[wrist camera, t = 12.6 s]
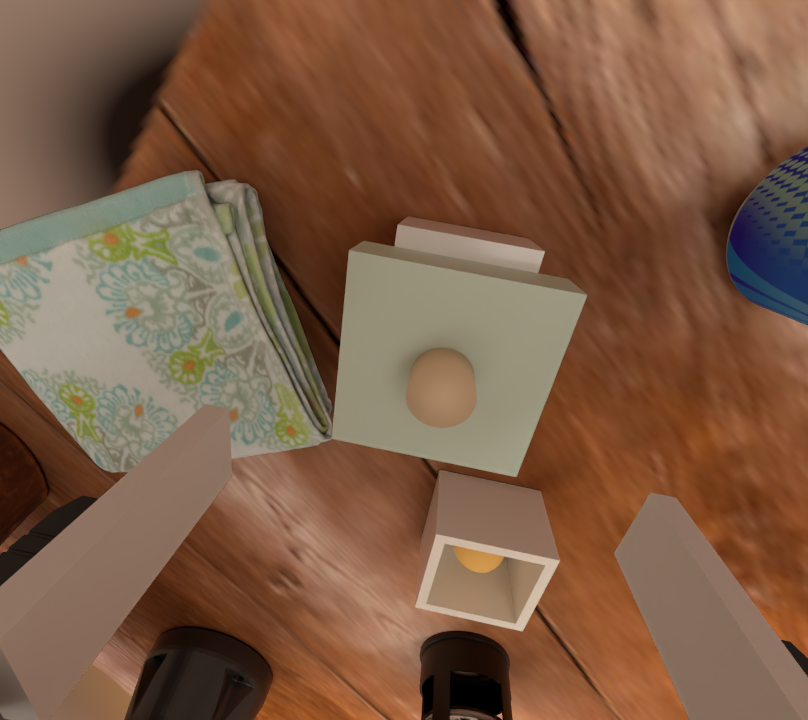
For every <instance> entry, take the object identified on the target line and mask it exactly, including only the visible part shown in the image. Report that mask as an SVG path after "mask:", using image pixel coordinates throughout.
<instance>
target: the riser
mask: <svg viewBox="0 0 808 720" xmlns="http://www.w3.org/2000/svg"><path fill="white" fill-rule="evenodd" d="M395 247H400V248H405V249H411V250H416V251H421V252H427V253H432V254H437V255H443V256H448V257H454V258H459V259H464V260H470V261H475V262H480V263H486V264H491V265H496V266H502V267H507V268H512V269H518V270H523V271H529V272H534V273H538V272H539V269H540V266H541V263H542V260H543V256H544V253H545V251H544V250H542V249H541V248H540V247H539V246H537V245H536V244H535V243H534V242H532V241H531V240H530V239H528V238H524V237H519V236H513V235H508V234H502V233H497V232H491V231H486V230H480V229H475V228H470V227H464V226H459V225H453V224H448V223H442V222H437V221H431V220H426V219H420V218H415V217H409V216H408V217H406V218H405V219H404V220H403V221H401V222H400V223H399V224H398V225H397V232H396V239H395Z"/></svg>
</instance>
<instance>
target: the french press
mask: <svg viewBox="0 0 808 720" xmlns="http://www.w3.org/2000/svg"><path fill="white" fill-rule="evenodd" d="M420 660H421V678H420V694H421V696H422V698H423V700H422V716H421V720H502V719H500V718H499V717H498V716H497V715H498V714H501V713H502V716H503V720H513V719H512V710H511V691H510V682H509V673H508V671H509V666H510V662H509V658H508V655H507V653H506V651H505V650H504V649H503V648H502V647H501V646H500V645H499V644H498V643H496V642H495V641H493V640H491V639H489V638H487V637H485V636H482V635H479V634H475V633H470V632H460V631H456V632H446V633H441V634H438V635H435V636H433V637H431V638H429V639H428V640H427V641H425V642H424V644H423V645H422V647H421V651H420ZM451 671H462V672H471V673H476V674H479V675H483V676H484V677H480V678H471V679H467V678H459V677H455V676H452V675H451Z"/></svg>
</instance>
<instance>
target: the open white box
mask: <svg viewBox="0 0 808 720" xmlns="http://www.w3.org/2000/svg"><path fill="white" fill-rule="evenodd" d="M453 545H454V546H458V547H463V548H467V549H472V550H477V551H481V552H486V553H491V554H495V555H500V556H504V559H503V561H502V562H501V564H500V565H499V566H498V567H497V568H495V569H494V570H492V571H490V572H486V573H478V572H474V571H471V570H469V569H468V568H466V567H465V566H464V565H463V564H462V563H461V562H460V561H459V560H458V558H457V556H456V554H455V551H454V547H453ZM559 562H560V559H559V555H558V551H557V548H556V544H555V541H554V537H553V534H552V530H551V526H550V523H549V519H548V516H547V512H546V508H545V505H544V501H543V498H542V494H541V491H539V490H535V489H530V488H525V487H520V486H515V485H511V484H506V483H501V482H496V481H492V480H487V479H482V478H477V477H472V476H468V475H463V474H458V473H453V472H449V471H444V470H439V473H438V477H437V481H436V485H435V488H434V492H433V496H432V500H431V504H430V507H429V511H428V515H427V519H426V522H425V526H424V530H423V534H422V538H421V548H420V558H419V569H418V580H417V591H416V602H415V607H416V608H420V609H425V610H429V611H434V612H438V613H442V614H447V615H451V616H456V617H460V618H465V619H469V620H474V621H478V622H483V623H487V624H491V625H496V626H500V627H505V628H509V629H514V630H518V631H523V630H524V628H525V626H526V624H527V622H528V620H529V618H530V617H531V615H532V613H533V611H534V609H535V607H536V605H537V603H538V601H539V600H540V598H541V596H542V594H543V592H544V590H545V588H546V586H547V584H548V583H549V581H550V579H551V577H552V575H553V573H554V571H555V569H556V567H557V566H558V564H559Z"/></svg>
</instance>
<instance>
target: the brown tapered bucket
mask: <svg viewBox="0 0 808 720" xmlns="http://www.w3.org/2000/svg"><path fill="white" fill-rule="evenodd" d="M47 493H48V487H47V485H46V481H45V478H44V475H43V472H42V470H41V468H40V466H39V465H38V463H37V462H36V460H35V459H34V457H33V456H32V454H31V453H30V452H29V450H28V449H27V448H26V447H25V445H24V444H23V443H22V442H21V441H20V440H19V439H18V438H17V437H16V436H15V435H14V434H13V433H12V432H11V431H9V430H8V429H7V428H5V427H4V426H3V425H1V424H0V545H1V544H2V543H3V542H4V541H5V540H6V539H7V538H8V537H9V536H10V534H11V533H12V532H13V531H14V530H15V529H16V528H17V527H18V526H19V525H20V524H21V523H22V522H23V521H24V519H25V518H26V517H27V516H28V515H29V514H30V513H31V512H32V511H34V510H35V509H36V508H37V507H38V505H40V504H41V503H42V502H43V501H44V500H45V498H46V496H47Z"/></svg>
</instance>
